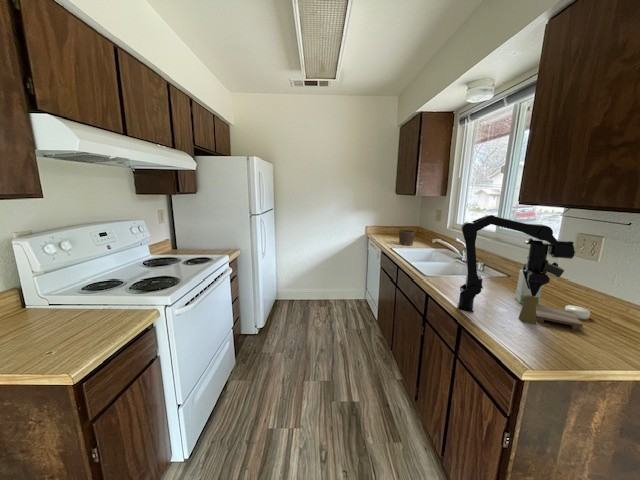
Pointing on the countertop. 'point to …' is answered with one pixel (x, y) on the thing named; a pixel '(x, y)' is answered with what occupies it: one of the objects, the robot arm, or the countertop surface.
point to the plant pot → (406, 237)
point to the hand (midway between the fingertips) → (531, 292)
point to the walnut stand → (557, 316)
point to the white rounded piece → (578, 311)
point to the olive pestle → (529, 309)
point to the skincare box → (524, 289)
